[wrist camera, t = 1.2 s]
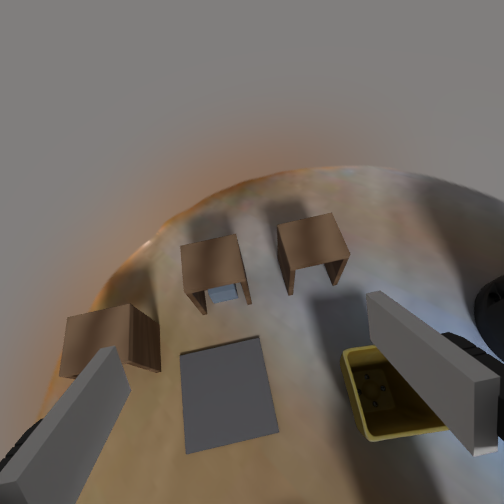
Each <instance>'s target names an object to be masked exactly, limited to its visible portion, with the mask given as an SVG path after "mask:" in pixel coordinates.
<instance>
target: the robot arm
mask: <svg viewBox="0 0 504 504" xmlns="http://www.w3.org/2000/svg"><path fill="white" fill-rule="evenodd" d="M366 300H367V311H368V321H369V332H370V340H371V341H372V343H373V344H374V345H375V346H376V347H377V348H378V349H379V351H380V352H381V353H382V354H383V355H384V356H385V357H386V358H387V360H388V361H389V362H390V363H391V364H392V365H393V366H394V367H395V369H396V370H397V371H398V372H399V373H400V374H401V375H402V376H403V378H404V379H405V380H406V381H407V382H408V383H409V384H410V385H411V387H412V388H413V389H414V390H415V391H416V392H417V393H418V395H419V396H420V397H421V398H422V399H423V400H424V401H425V402H426V404H427V405H428V406H429V407H430V408H431V409H432V410H433V411H434V413H435V414H436V415H437V416H438V417H439V418H440V419H441V420H442V422H443V423H444V424H445V425H446V426H447V427H448V428H449V429H450V431H451V432H452V433H453V434H454V435H455V436H456V437H457V439H458V440H459V441H460V442H461V443H462V444H463V445H464V446H465V448H466V449H467V450H468V451H469V452H470V453H471V454H472V455H473V457H475V456H479V455H484V454H488V453H493V452H497V449H498V436H499V437H500V438H501V439H502V440H503V441H504V364H503V363H501V362H500V361H498V360H497V359H495V358H494V357H492V356H491V355H489V354H486V352H485V351H483V350H482V349H480V348H479V347H476V345H474V344H473V343H471V342H470V341H468V340H467V339H465V338H463V337H461V336H458V335H455V334H453V333H450V332H447V333H442V334H440V333H439V332H437V331H436V330H434V329H433V328H432V327H430V326H429V325H427V324H426V323H425V322H423V321H422V320H420V319H419V318H418V317H416V316H415V315H413V314H412V313H411V312H409V311H408V310H406V309H405V308H404V307H402V306H401V305H400V304H398V303H397V302H395V301H394V300H393V299H391V298H390V297H388V296H387V295H386V294H384V293H383V292H381V291H376V292H371V293H367V294H366ZM474 313H475V320H476V323H477V326H478V329H479V331H480V333H481V335H482V337H483V338H484V340H485V342H486V343H487V344H488V346H489V347H490V348H491V349H492V351H493V352H494V353H495V354H496V355H497V356H498V357H499V358H500V359H501V360H502V361H504V275H503V276H501V277H498V278H497V279H495V280H493V281H492V282H490V283H489V284H487V285H486V286H484V287H483V288H482V289H481V291H480V292H479V294H478V295H477V298H476V301H475V306H474ZM130 392H131V389H130V386H129V383H128V380H127V377H126V375H125V372H124V369H123V366H122V363H121V360H120V358H119V355H118V352H117V349H116V346H110V347H105V348H100V350H99V351H98V352H97V353H96V354H95V356H94V357H93V358H92V359H91V361H90V362H89V363H88V364H87V366H86V367H85V368H84V369H83V371H82V372H81V373H80V374H79V375H78V377H77V378H76V379H75V380H74V382H73V383H72V384H71V385H70V387H69V388H68V389H67V390H66V392H65V393H64V394H63V395H62V396H61V398H60V399H59V400H58V401H57V403H56V404H55V405H54V406H53V408H52V409H51V410H50V411H49V413H48V414H47V415H46V416H45V418H43V419H40V420H39V421H38V422H36V423H35V424H34V425H33V426H32V427H31V428H29V429H28V430H27V431H26V432H25V433H24V434H23V435H22V437H21V438H20V439H19V440H18V442H17V443H16V444H15V447H12V449H11V450H10V451H9V452H8V453H7V455H6V457H5V458H4V459H2V461H1V462H0V504H75V503H76V501H77V499H78V497H79V495H80V493H81V491H82V489H83V487H84V485H85V483H86V481H87V479H88V477H89V475H90V473H91V471H92V469H93V467H94V465H95V463H96V460H97V458H98V456H99V454H100V452H101V450H102V448H103V446H104V444H105V442H106V440H107V438H108V436H109V434H110V432H111V430H112V428H113V426H114V424H115V422H116V420H117V418H118V416H119V414H120V412H121V410H122V408H123V406H124V404H125V402H126V400H127V398H128V396H129V394H130Z"/></svg>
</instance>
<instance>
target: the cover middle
mask: <svg viewBox="0 0 504 504" xmlns="http://www.w3.org/2000/svg"><path fill="white" fill-rule="evenodd" d="M180 249H181V261H182V274H183V286H184V292H185V293H186V295H187V296H188V297H189V298H190V300H191V301H192V302H193V303H194V305H195V306H196V307H197V308H198V310H199V311H200V312H201V313H202V315H205V314H207V308H206V300H205V292H204V290H207V289H212V288H216V287H221V286H225V285H230V284H234V283H239V282H241V285H242V288H243V291H244V294H245V298H246V301H247V304H248V305H250V304H252V302H251V297H250V292H249V288H248V283H247V278H246V273H245V269H244V264H243V260H242V256H241V252H240V248H239V244H238V240H237V236H236V234H233V235H228V236H224V237H219V238H214V239H210V240H205V241H201V242H196V243H192V244H187V245H183V246H180Z"/></svg>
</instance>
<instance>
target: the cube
mask: <svg viewBox="0 0 504 504" xmlns="http://www.w3.org/2000/svg"><path fill="white" fill-rule="evenodd" d="M208 294H209V296H210V298H211V299H212V301H213V303H219V302H223V301H227V300H232V299H236V298H238V295H237V289H236V284H235V283H234V284H230V285H225V286H221V287H216V288H212V289H208Z"/></svg>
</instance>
